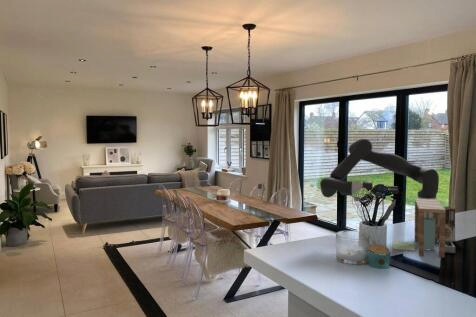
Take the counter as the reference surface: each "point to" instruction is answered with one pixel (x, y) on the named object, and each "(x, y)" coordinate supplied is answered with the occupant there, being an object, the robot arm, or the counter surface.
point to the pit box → (449, 247)
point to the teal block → (429, 233)
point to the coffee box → (448, 223)
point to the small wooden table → (436, 208)
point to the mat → (403, 245)
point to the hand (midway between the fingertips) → (398, 190)
